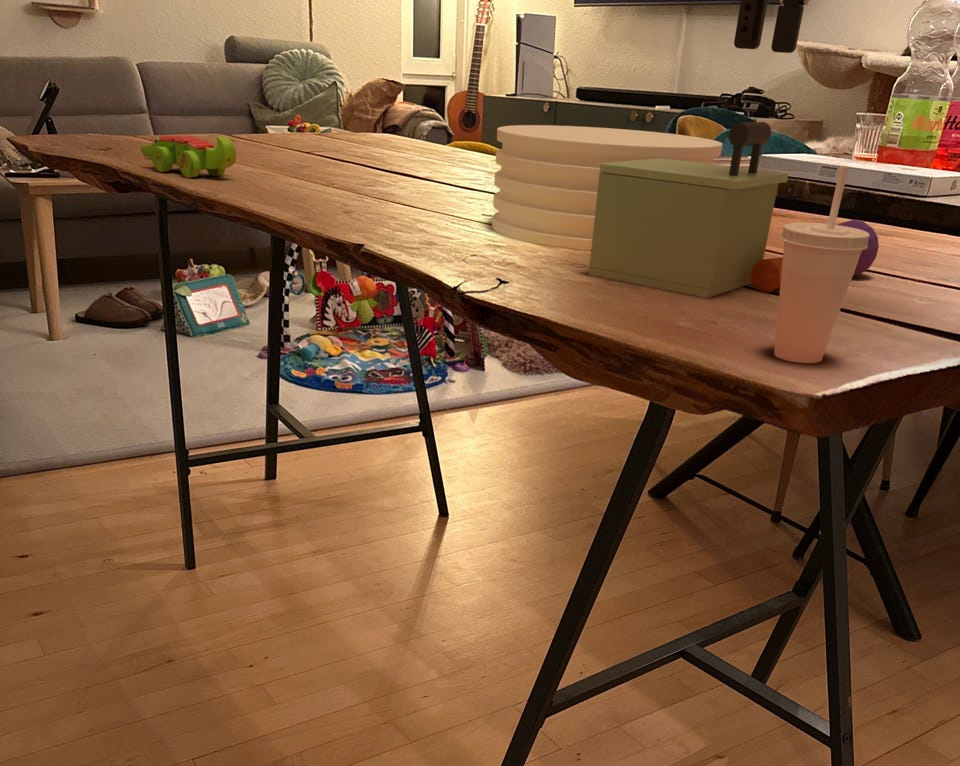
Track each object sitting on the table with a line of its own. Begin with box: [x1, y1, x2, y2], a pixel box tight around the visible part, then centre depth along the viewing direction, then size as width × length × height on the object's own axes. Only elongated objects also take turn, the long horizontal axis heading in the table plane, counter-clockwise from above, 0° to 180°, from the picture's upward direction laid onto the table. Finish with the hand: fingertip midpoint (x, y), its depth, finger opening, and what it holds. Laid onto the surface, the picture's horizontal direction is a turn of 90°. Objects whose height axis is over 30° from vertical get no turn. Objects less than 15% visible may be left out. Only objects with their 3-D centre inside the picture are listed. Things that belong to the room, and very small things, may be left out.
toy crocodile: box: [140, 135, 237, 179], centre depth 154 cm, size 20×7×6 cm, turn 50°
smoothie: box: [773, 165, 870, 364], centre depth 74 cm, size 6×6×14 cm
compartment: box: [588, 172, 779, 299], centre depth 100 cm, size 14×13×10 cm
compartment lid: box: [600, 121, 790, 190], centre depth 96 cm, size 15×13×5 cm
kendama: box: [751, 219, 880, 294], centre depth 104 cm, size 6×6×20 cm
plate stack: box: [491, 124, 723, 251], centre depth 123 cm, size 28×28×12 cm
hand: (765, 50), depth 89 cm, fingers open, 8 cm apart
